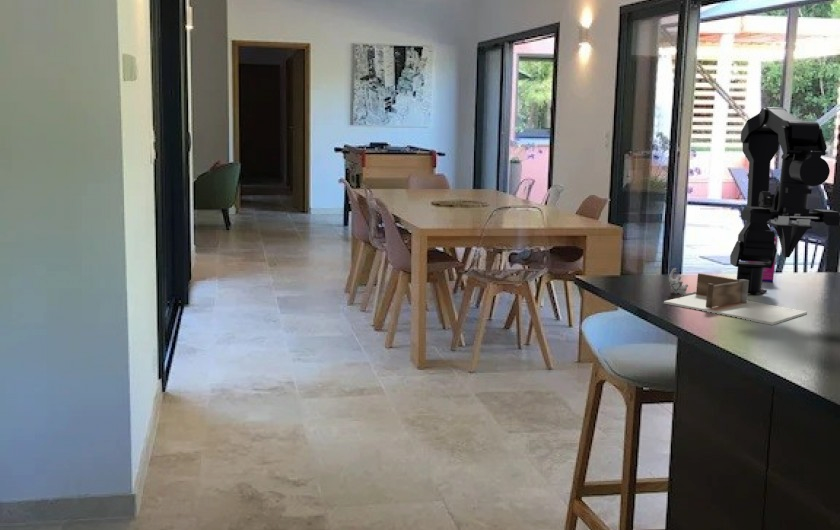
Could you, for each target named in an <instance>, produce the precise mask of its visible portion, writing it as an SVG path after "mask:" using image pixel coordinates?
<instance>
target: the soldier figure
mask: <svg viewBox="0 0 840 530" xmlns="http://www.w3.org/2000/svg"><path fill="white" fill-rule="evenodd" d="M676 272H677V268H676V267H674V268H672V270H671V271H670V272H669V275H668V281H669V283H670V284H669V286H670V289H671V291H672V292H673V293H674V294H676V293H679V294H678V295H680V296H681V297H684V296H689V295H693V294H696V291H693V292H687V290H688V287H689V285H688V284H687V283H686V284H684V285H683V283H684V282H683V281H680V280H681V279H682V276H678V277H677V276H676V277H674V273H676ZM673 277H674V278H673Z"/></svg>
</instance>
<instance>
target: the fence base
mask: <svg viewBox="0 0 840 530" xmlns="http://www.w3.org/2000/svg"><path fill="white" fill-rule="evenodd" d="M737 281H741V282H743V285H742V291H741V301H740V302H739V303H747V301H748V295H749V294H748V285H749V280H745V279H739V280H737V278H736V279H735V278H729V277H723V276H718V275H712V274H706V273H701V272H699V273H697V281H696V291H695V292H696V294H699V295H705V296H707V286H708V284H709V283H711V284H714V285H718V284H724V283H730V282H737Z"/></svg>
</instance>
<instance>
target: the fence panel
mask: <svg viewBox="0 0 840 530" xmlns="http://www.w3.org/2000/svg"><path fill="white" fill-rule="evenodd" d="M742 285H743V282H741V281H737V282H730V283H724V284H718V285H714V284H711V283H709V284H708V286H707V298H706V307H707V308H712V307H717V306H722V305H727V304H733V303H738V302H740V301H741V291H742Z"/></svg>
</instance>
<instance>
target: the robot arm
mask: <svg viewBox="0 0 840 530" xmlns="http://www.w3.org/2000/svg"><path fill="white" fill-rule="evenodd" d="M824 136H825V135H824V133H823V129H822V128H821V126H820V124H819V122H817V121H812V120H811V121H810V120H800V119H799V118H797V117H795V116H794V115H792V114H791V113H790V112H788V111H787V108H783V107H778V106H777V107H775V106H774V107H773V106H765V107H762V108H761V109H760V111H759V112H758V114H757V113H756V115H754V116H751V118H749V119H747V121H746V122H745V124H744V126H743V127H742V129H741V133H740V142H741V143H742V152H743V154H744V156H745V158H746V159H747V161H748V162H749V163H748V178H747V179H748V182H747V201H746V206H744V207H743V208H742V210H741V217H740V218H741V220H744V221H745V225H744V226H743V227H742V228H741V230H740V231H739V233H738V235H737V236H738V237H737V241H736V242H735V244H734V247H733V248H732V251H731V253H730V258H729V259H730V263H729V264H730V265H731V266H733V267H736V268H737V270H736V271H737V272H736V279H737V280H739V279H745V280H749V285H748V295H752V296H753V295H754V296H756V295H760V294H761V295H762V294H765V293H767V292H768V291H767V289H762V288H763V287H762V286H763V282H762V278H763V269H764V268H770V269H772V266H773V263H774V259H775V260H776V254H777V252H778V248H777V244H776V245H775V243H774V240H775V238H776V237H775V236H776V234H777V237H778V239H779V243H780V248H781V252H782V256H783V257H784V258H790V256H791V255H792V254H793V252H794V250H795V248H796V247H797V245H798V244H799V242H800V241H801V239H802V238H803V237H804V235H805V234H806V233H807V232H808V231H809V230H812V229H813V226H814V225H811V224H810V223H811V222H814V223H823V224H824V225H825V226H831V227H832V226H835V227H836V226H837V227H840V212H839V211H835V210H831V209H815V208H814V209H812V210H811V212H810V209H809V208H808V201H809V195H812V190H813V189H812V188H810V187H818V186H821V185H822V184H824V183H825V182H826V181H827V180H828V179H829V176H830V171H831V169H830V165H829V164H828V162H827V161H826V159H824V158H822V156H824V157H825V156H826V154H827V153H826V150H827V149H828V147H827V146H828V145H827V144H826V140H825V137H824ZM779 149H781V151H782V154H781V160H782V161H781V170H780V178H779V185H777V186H776V188H775V189H776V190H775V193H774V194H773V193H772V192H771V191H770V177H771V163H772V162H771V161H772V160H773V158H774V157H775V156H776V154H777V153H778V151H779ZM790 221H791V222H790ZM770 226H772V227H773V228H774V229H775V231H774V230H772V229H771V228H770ZM775 232H776V233H775ZM747 261H754V262H747Z"/></svg>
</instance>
